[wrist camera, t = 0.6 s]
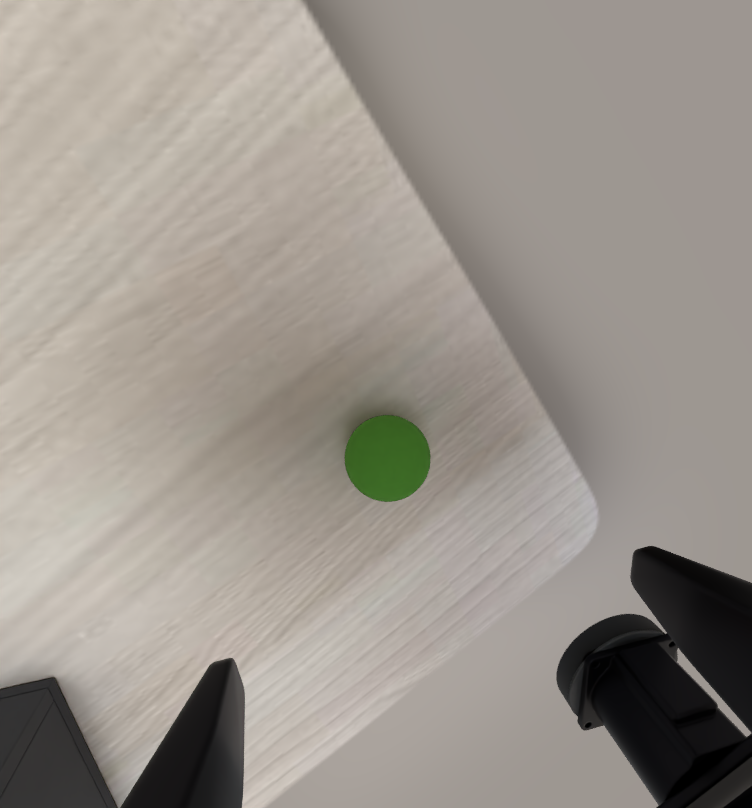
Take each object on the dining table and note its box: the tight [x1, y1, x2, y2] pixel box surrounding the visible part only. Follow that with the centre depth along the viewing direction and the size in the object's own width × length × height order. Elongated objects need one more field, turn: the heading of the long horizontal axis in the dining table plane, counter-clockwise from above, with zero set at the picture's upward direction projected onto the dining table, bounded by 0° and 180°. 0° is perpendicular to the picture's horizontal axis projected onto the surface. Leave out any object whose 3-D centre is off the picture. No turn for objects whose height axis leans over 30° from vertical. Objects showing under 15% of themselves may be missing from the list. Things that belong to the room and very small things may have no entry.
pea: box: [345, 415, 430, 502], centre depth 17 cm, size 4×4×4 cm
